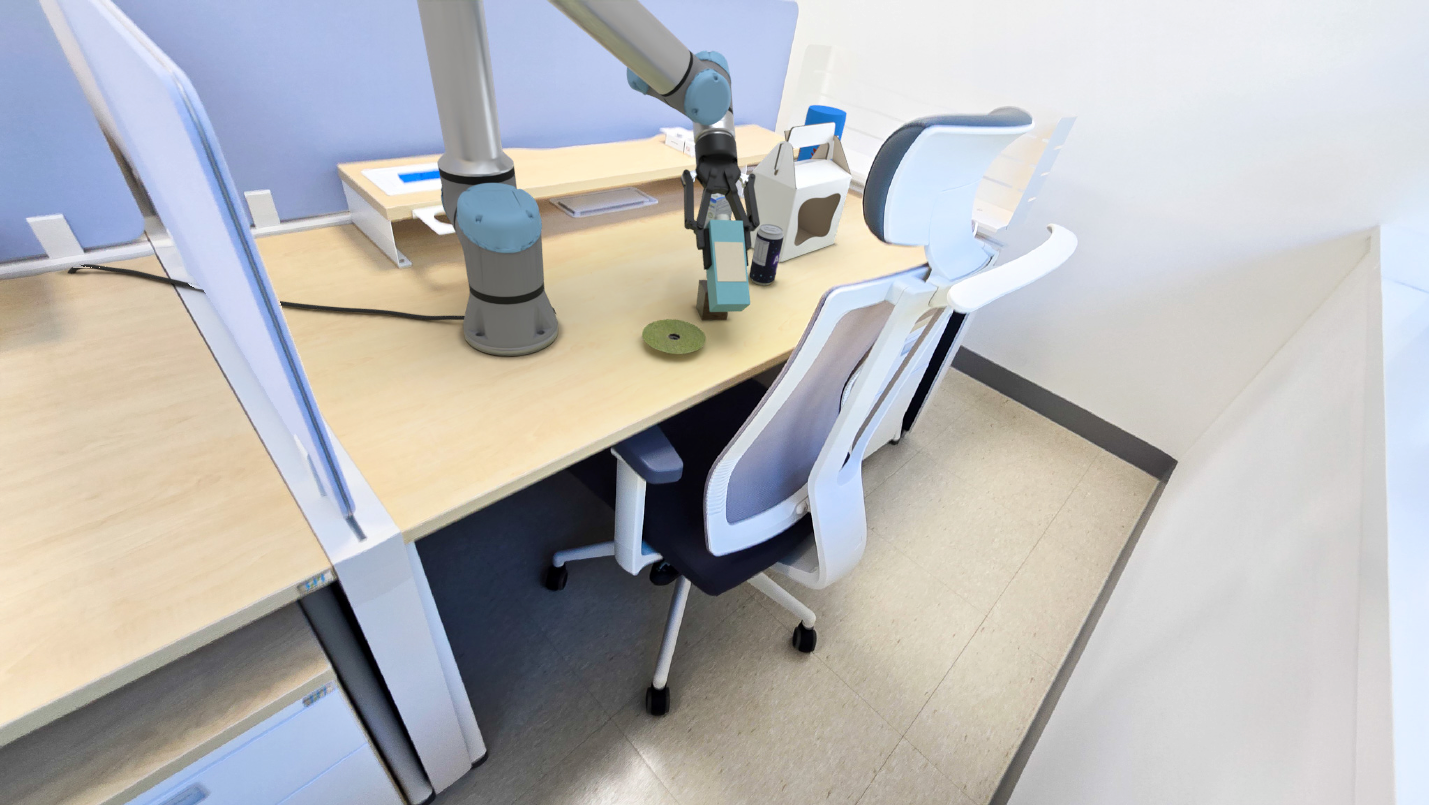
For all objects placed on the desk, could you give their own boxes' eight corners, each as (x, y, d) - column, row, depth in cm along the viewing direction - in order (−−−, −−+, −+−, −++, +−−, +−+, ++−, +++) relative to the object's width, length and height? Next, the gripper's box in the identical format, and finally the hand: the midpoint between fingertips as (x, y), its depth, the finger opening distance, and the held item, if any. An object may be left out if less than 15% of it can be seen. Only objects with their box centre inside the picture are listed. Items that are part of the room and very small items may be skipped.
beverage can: (772, 289, 124) (783, 236, 117) (746, 283, 125) (756, 230, 117) (775, 278, 129) (786, 226, 121) (750, 272, 129) (760, 221, 122)
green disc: (629, 336, 103) (630, 327, 102) (681, 322, 109) (682, 313, 108) (664, 369, 96) (665, 359, 95) (716, 352, 102) (718, 343, 101)
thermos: (788, 202, 169) (807, 110, 154) (790, 191, 178) (808, 102, 162) (824, 209, 169) (847, 117, 153) (825, 197, 177) (847, 109, 162)
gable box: (795, 225, 155) (820, 113, 138) (834, 244, 149) (865, 128, 132) (739, 242, 142) (759, 119, 125) (779, 263, 135) (806, 137, 118)
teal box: (714, 322, 100) (726, 243, 91) (695, 283, 110) (704, 209, 102) (747, 321, 101) (762, 244, 93) (725, 283, 112) (736, 210, 103)
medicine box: (716, 221, 151) (721, 187, 146) (730, 226, 149) (735, 193, 144) (698, 228, 146) (702, 194, 140) (712, 234, 144) (717, 199, 138)
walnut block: (701, 320, 110) (705, 292, 107) (695, 307, 114) (699, 279, 110) (726, 319, 112) (731, 292, 108) (719, 306, 115) (724, 279, 112)
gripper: (667, 126, 97) (678, 259, 95) (771, 134, 103) (784, 260, 101) (659, 149, 104) (669, 273, 102) (757, 156, 110) (768, 274, 108)
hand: (726, 267), depth 101 cm, fingers closed on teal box, 6 cm apart
